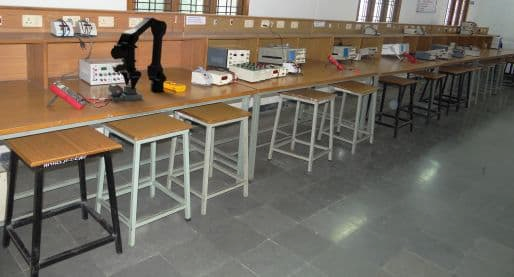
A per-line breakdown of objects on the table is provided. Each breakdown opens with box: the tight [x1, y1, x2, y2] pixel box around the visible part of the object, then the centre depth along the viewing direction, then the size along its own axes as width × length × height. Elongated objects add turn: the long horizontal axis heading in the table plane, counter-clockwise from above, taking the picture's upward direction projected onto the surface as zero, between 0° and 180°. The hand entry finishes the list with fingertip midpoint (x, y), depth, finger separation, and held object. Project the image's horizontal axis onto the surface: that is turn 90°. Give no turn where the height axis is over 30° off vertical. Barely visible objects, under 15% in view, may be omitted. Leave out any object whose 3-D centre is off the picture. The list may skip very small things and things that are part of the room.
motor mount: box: [107, 83, 143, 102], centre depth 219 cm, size 15×10×8 cm, turn 125°
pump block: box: [123, 83, 137, 95], centre depth 221 cm, size 5×5×8 cm
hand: (129, 87), depth 220 cm, fingers open, 9 cm apart
